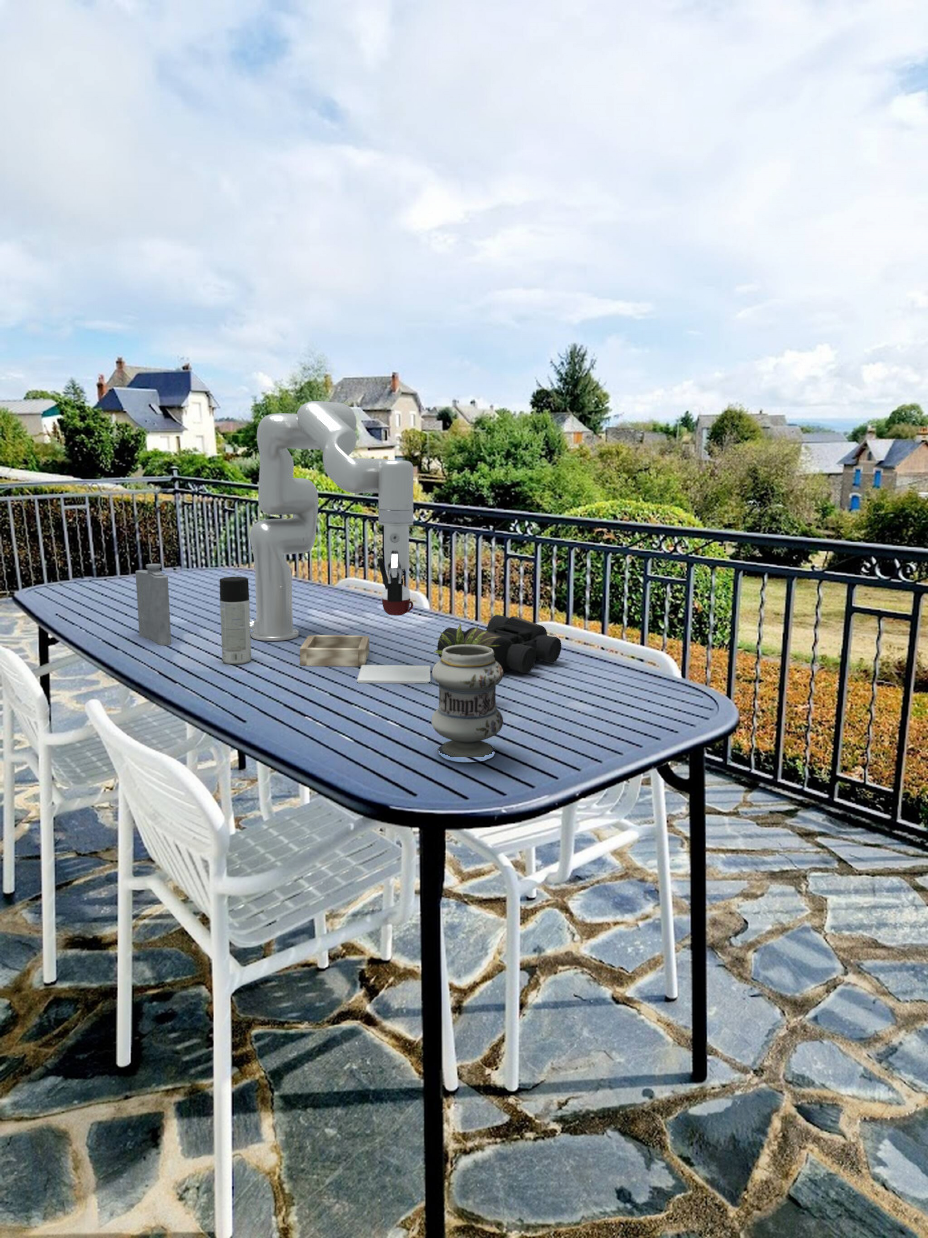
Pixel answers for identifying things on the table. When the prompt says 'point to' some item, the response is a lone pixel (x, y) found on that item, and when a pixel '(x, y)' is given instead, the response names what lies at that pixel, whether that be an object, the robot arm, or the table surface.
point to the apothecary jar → (467, 700)
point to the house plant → (460, 639)
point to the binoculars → (513, 642)
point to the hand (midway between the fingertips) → (395, 597)
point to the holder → (334, 650)
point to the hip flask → (153, 604)
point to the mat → (393, 674)
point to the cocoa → (394, 607)
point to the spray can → (235, 620)
